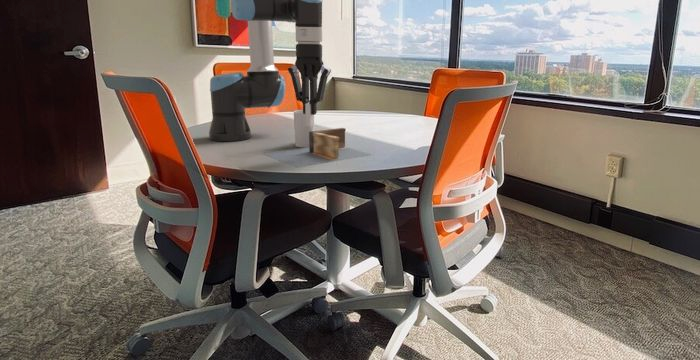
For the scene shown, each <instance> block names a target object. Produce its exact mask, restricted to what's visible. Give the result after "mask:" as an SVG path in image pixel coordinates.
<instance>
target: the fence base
mask: <svg viewBox="0 0 700 360" xmlns="http://www.w3.org/2000/svg"><path fill="white" fill-rule="evenodd" d="M315 132H318V133H323V134H327V135H332V136H336V137H339V140H338V148H344V147H346V128H345V127H338V128H330V129H320V130H314V131H311V132H309V152H311V153H314V140H313V133H315Z"/></svg>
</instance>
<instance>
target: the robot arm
mask: <svg viewBox="0 0 700 360" xmlns="http://www.w3.org/2000/svg"><path fill="white" fill-rule="evenodd" d="M230 10H231V13H232V14H231V15H232V16H233V18H234V19H235V20H239V21H246V22H247V29H248V30H247V31H248V45H249V58H250V60H249V61H250V67H249V68H248V69H247V70H246V75H244V74H243V72H241V71H238V72H228V73H222V74H217V75H213V76H212V77H211V78H210V80H209V91H210V100H211V101H210V102H211V103H210V104H211V111H212V112H211V113H212V119H211V123H210V126H209V130H208V139H209V140H211V141H216V142H237V141H244V140H248V139H251V138H252V130H251V128H250V125H249V123H248V120H247V118H246V109H255V108H257V109H258V108H271V107H279V106H280V105H281V104H282V103H283V101H284V97H285V94H286V81H285V78H284V76H283V75H281V74H279V69H278V68H277V67H276V66H275V58H274V57H275V56H274V41H273V23H272V22H285V23H286V22H287V23H295V24H294V25H295V41H296V42H297V43H296V45H295V58H296V59H295V62H294V65H292V66H291V67H288V69H287V71H288V73H289V75H290V77H291V81H292V86H293V89H294V95H295V98H296V100H297V101H298V102H301V103H302V110H303V114H306V126H312V125H314V126H315V116H316V114H317V113H318V110H317V104H318V103H320V102H323V99H324V96H325V92H326V91H325V90H326V86H327V81H328V77H329V76H330V74H331V73H332V70H331V68H327V67H326V66H325V65H324V61H323V45H322V44H321V43H322V42H323V0H230ZM319 73H320V78H319V77H318V75H319ZM299 74H300V75H299ZM318 79H319V82H318Z"/></svg>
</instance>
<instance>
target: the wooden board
mask: <svg viewBox="0 0 700 360" xmlns="http://www.w3.org/2000/svg"><path fill="white" fill-rule="evenodd" d="M314 132H315V131H314ZM313 140H314V152H316V153H319V154H323V155H326V156H330V157H333V158H338V157H339V156H338V140H339V137H336V136H332V135H327V134H323V133H318V132H315V133H313Z"/></svg>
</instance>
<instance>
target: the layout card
mask: <svg viewBox="0 0 700 360" xmlns="http://www.w3.org/2000/svg"><path fill="white" fill-rule="evenodd" d="M262 155H265V156H267V157H270V158H272V159H275V160H277V161H280V162H282V163H284V164H286V165H289V166H291V167H295V168H302V167H305V166H312V165H318V164H325V163H330V162H331V163H332V162H337V161H342V160H348V159H349V160H351V159H354V158H362V157H366V156H372V155H373V154H371V153H368V152H365V151H362V150H357V149H354V148H351V147H347V146H345V147H344V148H338V156H339V157H338V158H333V157H330V156H326V155H323V154H319V153H316V152H314V153H311V152H309V147H298V148H293V149H292V148H291V149H286V150H279V151H273V152H272V151H271V152H265V153H262Z"/></svg>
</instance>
